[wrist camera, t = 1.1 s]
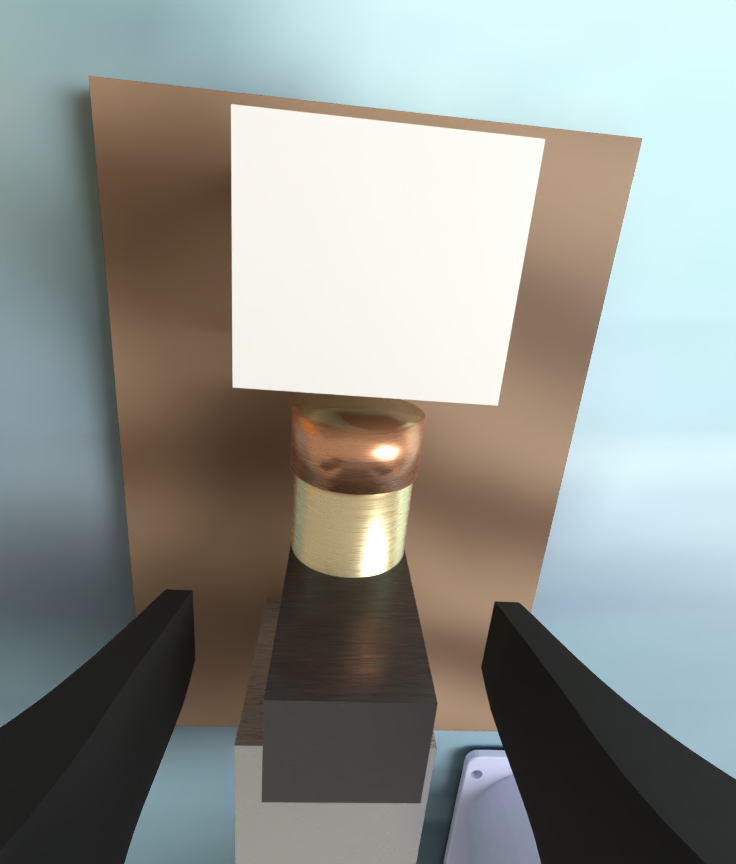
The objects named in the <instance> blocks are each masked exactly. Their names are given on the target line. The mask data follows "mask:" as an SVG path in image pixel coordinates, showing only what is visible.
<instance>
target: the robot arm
mask: <svg viewBox="0 0 736 864" xmlns="http://www.w3.org/2000/svg"><path fill="white" fill-rule="evenodd" d="M194 664H195V635H194V609H193V590H171V589H166V590H165V591H163V592H162V593H161V594H160V595H159V596H158V597H157V598H156V599H155V600H154V601H152V602H151V603H150V604H149V605H148V606H147V607H146V608H145V609H144V610H143V611H142V612H141V613H140V614H139V615H138V616H137V617H136V618H135V619H134V620H133V621H132V622H130V623H129V624H128V625H127V626H126V627H125V628H124V629H123V630H122V631H121V632H120V633H119V634H118V635H116V636H115V637H114V638H113V639H112V640H111V641H110V642H109V643H108V644H106V645H105V646H104V647H103V648H102V649H101V650H100V651H99V652H98V653H96V654H95V655H94V656H93V657H92V658H91V659H90V660H88V661H87V662H86V663H85V664H84V665H82V666H81V667H80V668H79V669H77V670H76V671H75V672H74V673H73V674H71V675H70V676H69V677H68V678H67V679H65V680H64V681H63V682H62V683H61V684H59V685H58V686H57V687H56V688H54V689H53V690H52V691H50V692H49V693H48V694H47V695H45V696H44V697H43V698H41V699H40V700H39V701H37V702H36V703H35V704H33V705H32V706H31V707H29V708H28V709H26V710H25V711H24V712H22V713H21V714H19V715H18V716H17V717H15V718H14V719H12V720H11V721H10V722H8V723H7V724H5V725H4V726H2V727H1V728H0V864H124V862H125V859H126V856H127V852H128V849H129V846H130V842H131V839H132V836H133V833H134V830H135V827H136V825H137V822H138V819H139V816H140V813H141V811H142V808H143V805H144V803H145V800H146V798H147V795H148V793H149V790H150V788H151V785H152V783H153V780H154V778H155V775H156V773H157V770H158V768H159V765H160V763H161V760H162V758H163V755H164V753H165V750H166V748H167V745H168V743H169V740H170V738H171V735H172V732H173V730H174V727H175V725H176V722H177V720H178V717H179V715H180V712H181V709H182V707H183V704H184V701H185V697H186V693H187V690H188V686H189V683H190V679H191V675H192V671H193V667H194ZM481 669H482V674H483V679H484V683H485V688H486V693H487V697H488V701H489V705H490V710H491V713H492V716H493V719H494V722H495V724H496V727H497V730H498V733H499V736H500V739H501V742H502V745H503V747H504V750H473V751H471V752H469V753H468V754H467V755H466V757H465V760H464V765H463V770H462V774H461V779H460V784H459V789H458V794H457V799H456V803H455V808H454V813H453V818H452V823H451V828H450V833H449V837H448V842H447V847H446V852H445V857H444V862H443V864H736V779H734V778H733V777H731V776H729V775H728V774H726V773H725V772H723V771H722V770H720V769H719V768H717V767H716V766H714V765H713V764H711V763H710V762H708V761H707V760H705V759H704V758H702V757H701V756H699V755H698V754H696V753H694V752H693V751H691V750H690V749H689V748H687V747H686V746H684V745H683V744H682V743H680V742H679V741H677V740H676V739H674V738H673V737H672V736H670V735H669V734H668V733H666V732H665V731H664V730H662V729H661V728H660V727H658V726H657V725H656V724H654V723H653V722H652V721H650V720H649V719H648V718H646V717H645V716H644V715H642V714H641V713H640V712H639V711H637V710H636V709H635V708H634V707H632V706H631V705H630V704H629V703H627V702H626V701H625V700H624V699H623V698H621V697H620V696H619V695H618V694H617V693H616V692H614V691H613V690H612V689H611V688H610V687H609V686H607V685H606V684H605V683H604V682H603V681H602V680H600V679H599V678H598V677H597V676H596V675H595V674H594V673H593V672H591V671H590V670H589V669H588V668H587V667H586V666H585V665H584V664H583V663H582V662H581V661H579V660H578V659H577V658H576V657H575V656H574V655H573V654H572V653H571V652H570V651H569V650H568V649H567V648H566V647H565V646H564V645H563V644H562V643H561V642H560V641H559V640H557V639H556V638H555V637H554V636H553V635H552V634H551V633H550V632H549V631H548V630H547V629H546V628H545V627H544V626H543V625H542V624H541V623H540V622H539V621H538V620H537V619H536V618H535V617H534V616H533V615H532V614H531V613H530V612H529V611H528V610H527V609H526V608H525V607H524V606H522V605H521V604H520V603H519V602H497V601H495V602H494V607H493V612H492V617H491V622H490V626H489V631H488V636H487V641H486V646H485V651H484V656H483V660H482V665H481Z"/></svg>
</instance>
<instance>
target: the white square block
mask: <svg viewBox="0 0 736 864" xmlns="http://www.w3.org/2000/svg"><path fill="white" fill-rule="evenodd" d="M544 145H545V139H542V138H533V137H524V136H515V135H506V134H497V133H488V132H479V131H470V130H461V129H452V128H443V127H434V126H425V125H416V124H406V123H397V122H388V121H379V120H370V119H361V118H352V117H343V116H334V115H325V114H316V113H307V112H298V111H289V110H280V109H271V108H262V107H253V106H244V105H235V104H231V199H232V377H233V388H247V389H262V390H276V391H291V392H305V393H320V394H334V395H349V396H364V397H378V398H393V399H407V400H422V401H436V402H451V403H465V404H480V405H495V406H498V402H499V397H500V391H501V385H502V380H503V374H504V369H505V363H506V357H507V352H508V346H509V341H510V335H511V329H512V324H513V318H514V313H515V307H516V301H517V296H518V290H519V285H520V279H521V273H522V268H523V262H524V257H525V251H526V245H527V240H528V234H529V229H530V223H531V217H532V212H533V206H534V201H535V195H536V189H537V184H538V178H539V173H540V167H541V161H542V156H543V150H544Z"/></svg>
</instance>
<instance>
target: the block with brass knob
mask: <svg viewBox="0 0 736 864" xmlns="http://www.w3.org/2000/svg"><path fill="white" fill-rule="evenodd" d="M424 423H425V413H424V412H423V410H421V409H420V408H419V407H417V406H416V405H414V404H412V403H409V402H407V401H404V400H401V399H393V398H378V397H364V396H349V395H334V394H320V393H314V394H309V395H306V396H303V397H300V398H299V399H297V400H296V401H294V403H293V405H292V430H291V458H290V467H291V470H292V471H293V473H294V487H293V513H292V539H291V546H290V552H289V558H288V563H287V569H286V575H285V581H284V586H283V592H282V598H281V603H280V609H279V615H278V621H277V626H276V632H275V638H274V643H273V649H272V655H271V661H270V666H269V672H268V678H267V683H266V689H265V695H264V703H263V754H262V802H282V803H421V798H422V792H423V786H424V780H425V775H426V769H427V763H428V757H429V751H430V746H431V740H432V734H433V728H434V723H435V717H436V711H437V705H438V703H437V698H436V694H435V689H434V684H433V680H432V675H431V670H430V666H429V661H428V656H427V652H426V647H425V642H424V638H423V633H422V628H421V624H420V619H419V614H418V610H417V605H416V600H415V596H414V591H413V586H412V582H411V577H410V572H409V568H408V563H407V558H406V554H405V549H404V548H405V540H406V532H407V524H408V516H409V508H410V500H411V493H412V485H413V482H414V481H415V480H416V478H417V476H418V469H419V461H420V454H421V446H422V438H423V430H424Z"/></svg>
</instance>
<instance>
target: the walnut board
mask: <svg viewBox="0 0 736 864" xmlns="http://www.w3.org/2000/svg"><path fill="white" fill-rule="evenodd" d="M89 85H90V97H91V109H92V120H93V132H94V143H95V155H96V167H97V178H98V190H99V202H100V213H101V225H102V237H103V248H104V260H105V271H106V283H107V295H108V306H109V318H110V330H111V341H112V353H113V365H114V376H115V388H116V400H117V411H118V423H119V434H120V446H121V458H122V469H123V481H124V493H125V504H126V516H127V528H128V539H129V551H130V562H131V574H132V586H133V597H134V609H135V618H136V617H137V616H138V615H139V614H140V613H141V612H142V611H143V610H144V609H145V608H146V607H147V606H148V605H149V604H150V603H151V602H152V601H154V600H155V599H156V598H157V597H158V596H159V595H160V594H161V593H162V592H163V591H165V590H166V589H171V590H193V609H194V635H195V664H194V667H193V671H192V675H191V679H190V683H189V686H188V690H187V693H186V697H185V701H184V704H183V707H182V709H181V712H180V715H179V717H178V720H177V722H176V725H178V726H233V727H239V723H240V718H241V714H242V709H243V705H244V700H245V695H246V691H247V686H248V682H249V677H250V672H251V668H252V663H253V659H254V654H255V650H256V645H257V640H258V636H259V631H260V627H261V622H262V617H263V613H264V608H265V604H266V599H281V598H282V592H283V586H284V581H285V575H286V569H287V563H288V558H289V552H290V546H291V539H292V513H293V487H294V473H293V471H292V470H291V467H290V458H291V430H292V405H293V403H294V401H296V400H297V399H299V398H300V397H303V396H306V395H309V394H314V393H305V392H291V391H276V390H262V389H247V388H233V377H232V199H231V104H235V105H244V106H253V107H262V108H271V109H280V110H289V111H298V112H307V113H316V114H325V115H334V116H343V117H352V118H361V119H370V120H379V121H388V122H397V123H406V124H416V125H425V126H434V127H443V128H452V129H461V130H470V131H479V132H488V133H497V134H506V135H515V136H524V137H533V138H542V139H545V145H544V150H543V156H542V161H541V167H540V173H539V178H538V184H537V189H536V195H535V201H534V206H533V212H532V217H531V223H530V229H529V234H528V240H527V245H526V251H525V257H524V262H523V268H522V273H521V279H520V285H519V290H518V296H517V301H516V307H515V313H514V318H513V324H512V329H511V335H510V341H509V346H508V352H507V357H506V363H505V369H504V374H503V380H502V385H501V391H500V397H499V402H498V406H495V405H480V404H465V403H451V402H436V401H422V400H407V399H401V400H404V401H407V402H409V403H412V404H414V405H416V406H417V407H419V408H420V409H421V410H423V412H424V413H425V423H424V430H423V438H422V446H421V454H420V461H419V469H418V476H417V478H416V480H415V481H414V482H413V485H412V493H411V500H410V508H409V516H408V524H407V532H406V540H405V548H404V549H405V554H406V558H407V563H408V568H409V572H410V577H411V582H412V586H413V591H414V596H415V600H416V605H417V610H418V614H419V619H420V624H421V628H422V633H423V638H424V642H425V647H426V652H427V656H428V661H429V666H430V670H431V675H432V680H433V684H434V689H435V694H436V698H437V703H438V705H437V711H436V717H435V723H434V728H433V730H454V731H498V730H497V727H496V724H495V722H494V719H493V716H492V713H491V710H490V705H489V701H488V697H487V693H486V688H485V683H484V679H483V674H482V669H481V665H482V660H483V656H484V651H485V646H486V641H487V636H488V631H489V626H490V622H491V617H492V612H493V607H494V602H495V601H497V602H519V603H520V604H521V605H522V606H524V607H525V608H526V609H527V610H528V611H529V612H530V613H531V609H532V605H533V601H534V597H535V592H536V588H537V584H538V580H539V575H540V571H541V567H542V563H543V558H544V554H545V550H546V546H547V541H548V537H549V533H550V529H551V524H552V520H553V516H554V512H555V507H556V503H557V499H558V495H559V490H560V486H561V482H562V478H563V473H564V469H565V465H566V461H567V456H568V452H569V448H570V444H571V439H572V435H573V431H574V427H575V422H576V418H577V414H578V410H579V405H580V401H581V397H582V393H583V388H584V384H585V380H586V376H587V371H588V367H589V363H590V359H591V354H592V350H593V346H594V342H595V337H596V333H597V329H598V325H599V320H600V316H601V312H602V308H603V303H604V299H605V295H606V291H607V286H608V282H609V278H610V274H611V269H612V265H613V261H614V257H615V252H616V248H617V244H618V240H619V235H620V231H621V227H622V223H623V218H624V214H625V210H626V206H627V201H628V197H629V193H630V189H631V184H632V180H633V176H634V172H635V167H636V163H637V159H638V155H639V150H640V146H641V142H642V138H634V137H626V136H617V135H608V134H599V133H590V132H581V131H572V130H564V129H555V128H546V127H537V126H528V125H519V124H510V123H501V122H493V121H484V120H475V119H466V118H457V117H448V116H439V115H431V114H422V113H413V112H404V111H395V110H386V109H377V108H369V107H360V106H351V105H342V104H333V103H324V102H315V101H306V100H298V99H289V98H280V97H271V96H262V95H253V94H244V93H236V92H227V91H218V90H209V89H200V88H191V87H182V86H174V85H165V84H156V83H147V82H138V81H129V80H120V79H111V78H103V77H94V76H89Z"/></svg>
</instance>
